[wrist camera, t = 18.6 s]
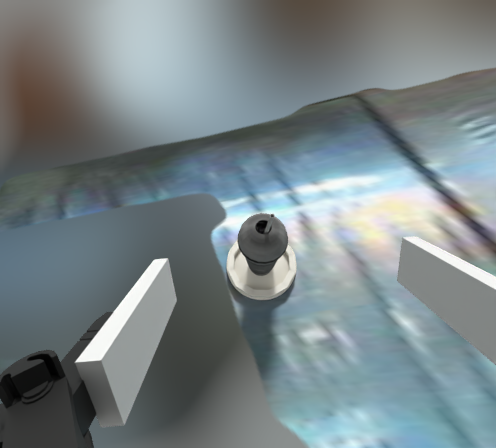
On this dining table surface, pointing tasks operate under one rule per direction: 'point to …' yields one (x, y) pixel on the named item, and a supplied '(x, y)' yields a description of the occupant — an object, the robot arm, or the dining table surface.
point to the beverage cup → (262, 242)
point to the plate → (261, 285)
